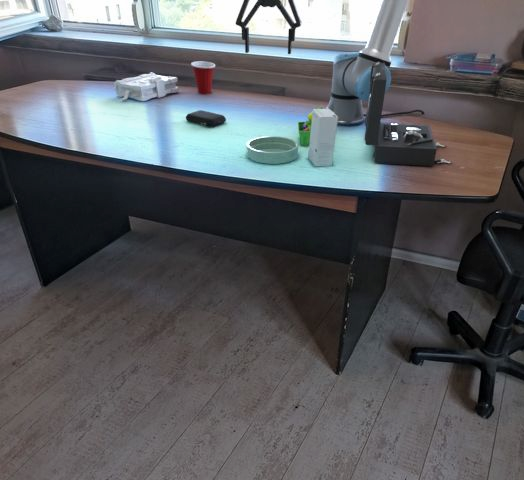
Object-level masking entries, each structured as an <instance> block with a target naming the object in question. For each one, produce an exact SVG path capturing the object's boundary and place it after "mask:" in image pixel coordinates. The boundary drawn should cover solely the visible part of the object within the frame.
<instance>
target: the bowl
mask: <svg viewBox="0 0 524 480" xmlns="http://www.w3.org/2000/svg"><path fill="white" fill-rule="evenodd" d="M246 156H247V158H248V159H249V160H251V161H253V162H256V163H261V164H268V165H279V164H285V163H289V162H293V161H294V160H297V158H298V156H299V143H298V141H296V140H294V139H292V138H289V137H285V136H276V135H274V136H273V135H271V136H270V135H267V136H260V137H259V136H258V137H255V138H252V139H250V140H249V141H247V142H246Z"/></svg>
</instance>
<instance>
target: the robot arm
mask: <svg viewBox="0 0 524 480" xmlns="http://www.w3.org/2000/svg"><path fill="white" fill-rule="evenodd" d="M409 1H410V0H381V1H380V3H379V6H378V10H377V12H376V16H375V19H374V21H373V24H372V26H371V27H372V28H371V30H370V33H369V36H368V38H367V42H366V45H365V47H363V48H362V49H360V50H359V51H357V52H356V51H354V52H350V51H349V52H339V53H336V54H335V55H334V59H333V64H332V77H331V78H332V80H331V91H330V98H329V102H328V104H327V106H326V108H325V109H330V110H331V111H332V112H334V113H335V115H336V116H337V117H338V122H337V126H356V125H359V124H362V123H363V122H364V119H365V118H364V117H366V113H364V109H363V108H364V107H363V103H362V102H363V101H366V102H368V97H369V89H370V76H371V68H372V65H373V64H374V63H376V62H377V63H378V62H379V63H385V69H386V78H387V82H386V88H385V94H387V92H388V90H389V89H390V86H391V82H392V76H391V75H392V74H391V71H390V68H391V65H392V59H391V53H392V49H393V47H394V43H395V41H396V38H397V36H398V32H399V30H400V27H401V24H402V21H403V18H404V16H405V13H406V9H407V7H408V5H409ZM287 2H288V4H289V8H290V10H291V13H292V15H293V18H294V20H293V18H292V17H291V15H290V14H289V12H288V11H287V9H286V8H285V6H284V5H283V3H282V1H281V0H257V1H256V2H255V4H254V5H253V7H252V9H250V11H249V13H248V14H247V15H246V17H245V18H244V15H245V13H246V11H247V7H248V5H249V3H250V0H243V2H242V4H241V6H240V9H239V12H238V15H237V17H236V19H235V25H236V26H238V27H240V28H241V40H242V41H244V50H245V51H244V52H245V54H249V52H250V27H248V25H249V23H250V21H251V20H252V18H253V17H254V16H255V14H256V13H257V11H258V10H259V8H260V7H262V8H268V7H269V8H275V7H276V8H277V9H278V10H279V12H280V14H281V15H282V17H283V18H284V19H285V21H286V22H287V24H288V26H289V27H290V28H289V29H288V35H287V37H288V40H287V41H288V42H287V55H291V54H292V42H295V40H296V30H297V28H300V27H301V26H302V19H301V17H300V14H299V12H298V9H297V7H296V4H295V1H294V0H287ZM243 18H244V20H243ZM294 21H295V22H294ZM418 112H419V113H421V114H422V115H425V112H424V111H423V110H422V109H413V110H410V111H400V112H390V113H382V115H381V118H382V117H388V116H398V115H408V114H409V115H410V114H413V113H418Z"/></svg>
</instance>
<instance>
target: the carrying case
mask: <svg viewBox="0 0 524 480" xmlns="http://www.w3.org/2000/svg"><path fill="white" fill-rule="evenodd" d="M185 120H186V121H187V123H191V124H195V125H199V126H202V127H207V128H214V127H217V126H221V125H224V124H225V123H226V121H227V117H225V116H224V115H223V114H219V113H215V112H211V111H206V110H202V109H201V110H200V109H199V110H196V111H193V112H190V113H189V112H188V113H187V114H186V116H185Z"/></svg>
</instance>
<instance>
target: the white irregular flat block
mask: <svg viewBox="0 0 524 480" xmlns="http://www.w3.org/2000/svg"><path fill="white" fill-rule="evenodd" d="M178 82H179V81H178V77H177V76H165V75H160V74H156V73H155V72H151V71H150V72H149V73H143V74H139V75H138V76H134V77H126V78H122V79H121V80H119V79H116V80H115V81H114V84H113V88H114V92H115V94H116V95H117V96H118V97H119V100H121V101H125V100H127V99H128V98H129V99H134V100H136V101H140V102H146V101H149V100H150V99H153V98H157V99H158V98H162V97H166V96H167V95H168V94H174V93H178V92H179V87H178V86H176V85H177V83H178Z"/></svg>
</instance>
